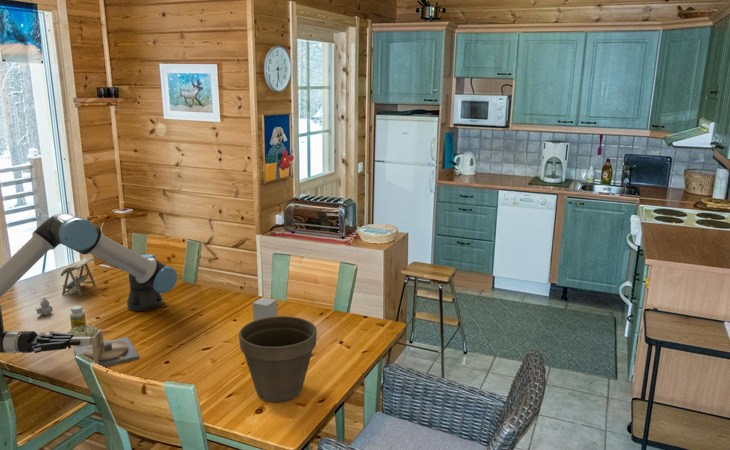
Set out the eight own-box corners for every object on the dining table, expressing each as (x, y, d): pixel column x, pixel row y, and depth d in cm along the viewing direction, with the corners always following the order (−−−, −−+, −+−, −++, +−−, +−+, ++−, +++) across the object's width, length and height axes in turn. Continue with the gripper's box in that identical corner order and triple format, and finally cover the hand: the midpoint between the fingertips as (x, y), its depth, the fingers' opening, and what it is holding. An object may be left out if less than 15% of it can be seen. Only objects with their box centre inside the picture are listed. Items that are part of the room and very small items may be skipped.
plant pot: (262, 367, 202) (261, 310, 197) (327, 378, 195) (327, 320, 190) (226, 403, 179) (223, 340, 173) (298, 417, 172) (298, 352, 167)
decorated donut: (62, 344, 217) (61, 335, 216) (74, 332, 227) (73, 323, 226) (90, 343, 217) (89, 334, 217) (101, 332, 228) (100, 323, 227)
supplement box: (278, 328, 234) (277, 299, 231) (268, 335, 228) (267, 305, 225) (263, 324, 237) (262, 296, 234) (253, 331, 231) (252, 302, 228)
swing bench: (78, 285, 279) (74, 256, 276) (97, 285, 279) (94, 257, 275) (61, 295, 265) (57, 265, 261) (81, 296, 265) (78, 266, 261)
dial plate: (127, 339, 222) (127, 336, 221) (139, 358, 207) (138, 355, 206) (73, 350, 211) (73, 347, 211) (81, 372, 196) (81, 368, 196)
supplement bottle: (85, 325, 233) (83, 304, 231) (87, 330, 229) (85, 308, 226) (70, 328, 230) (68, 306, 228) (72, 333, 226) (70, 311, 224)
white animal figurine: (55, 313, 244) (53, 296, 243) (40, 318, 239) (38, 301, 237) (49, 310, 247) (47, 293, 245) (33, 315, 242) (31, 298, 240)
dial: (92, 342, 215) (90, 318, 213) (133, 342, 216) (131, 317, 214) (73, 364, 199) (70, 337, 196) (117, 363, 200) (115, 337, 198)
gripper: (32, 343, 205) (99, 342, 207) (13, 360, 193) (84, 359, 194) (29, 324, 204) (97, 323, 205) (10, 340, 191) (82, 339, 193)
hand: (90, 341), depth 200 cm, fingers closed
